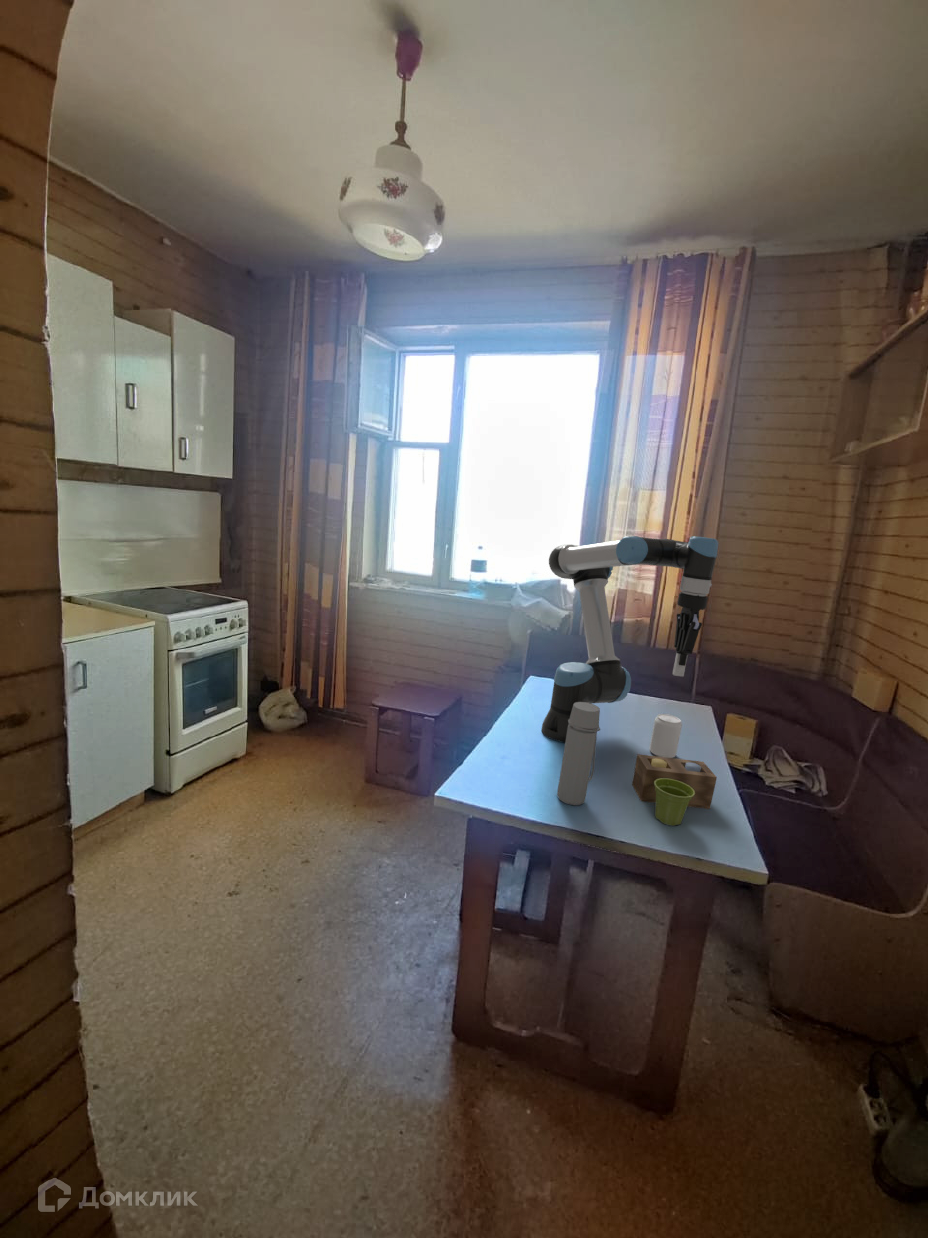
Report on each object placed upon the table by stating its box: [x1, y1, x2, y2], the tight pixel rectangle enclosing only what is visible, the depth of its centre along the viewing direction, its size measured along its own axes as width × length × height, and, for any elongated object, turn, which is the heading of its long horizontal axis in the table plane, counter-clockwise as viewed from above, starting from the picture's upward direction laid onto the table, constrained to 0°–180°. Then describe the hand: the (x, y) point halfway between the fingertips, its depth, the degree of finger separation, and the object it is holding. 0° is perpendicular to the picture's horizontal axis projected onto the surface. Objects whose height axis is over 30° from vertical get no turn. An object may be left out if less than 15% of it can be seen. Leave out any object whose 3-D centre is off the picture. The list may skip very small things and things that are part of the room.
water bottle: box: [556, 702, 601, 806], centre depth 144 cm, size 9×8×25 cm
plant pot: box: [654, 778, 695, 827], centre depth 141 cm, size 9×9×9 cm
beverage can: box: [648, 713, 683, 758], centre depth 180 cm, size 8×8×12 cm
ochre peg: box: [651, 758, 667, 768], centre depth 152 cm, size 4×4×8 cm
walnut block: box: [631, 754, 717, 810], centre depth 152 cm, size 18×9×9 cm, turn 89°
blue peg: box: [685, 762, 701, 772], centre depth 152 cm, size 4×4×8 cm
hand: (677, 675), depth 163 cm, fingers closed
